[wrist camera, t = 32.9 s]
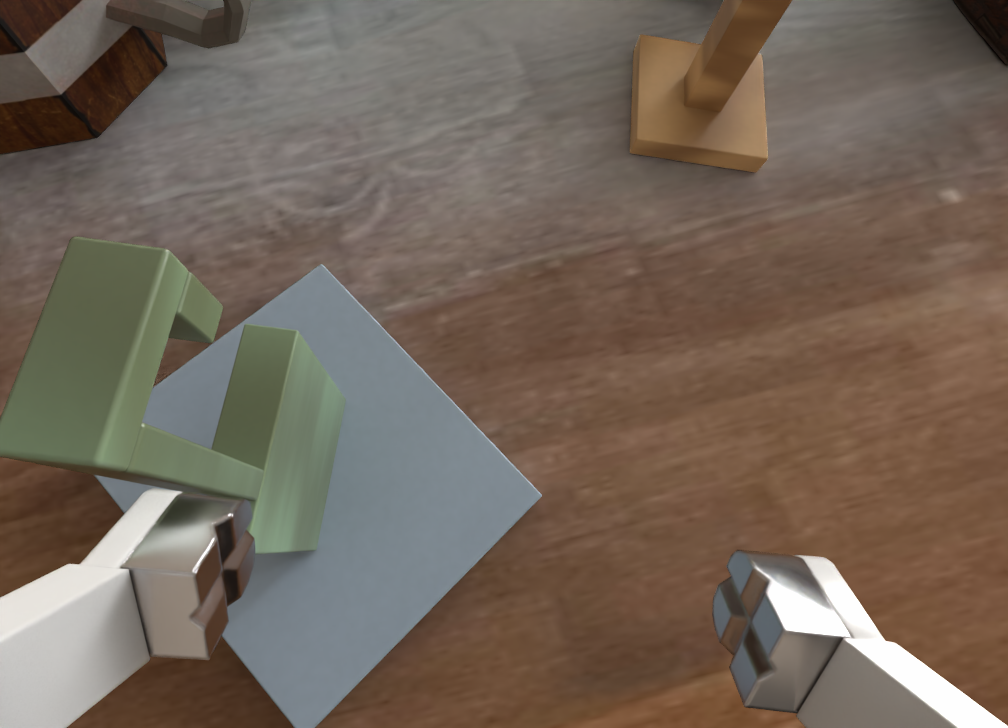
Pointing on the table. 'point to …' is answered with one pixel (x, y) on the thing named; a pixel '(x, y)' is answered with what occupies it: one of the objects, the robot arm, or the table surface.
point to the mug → (91, 60)
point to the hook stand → (706, 91)
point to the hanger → (130, 378)
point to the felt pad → (351, 502)
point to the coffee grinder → (989, 22)
